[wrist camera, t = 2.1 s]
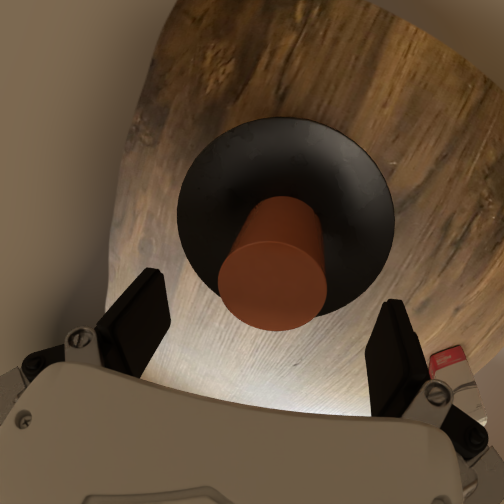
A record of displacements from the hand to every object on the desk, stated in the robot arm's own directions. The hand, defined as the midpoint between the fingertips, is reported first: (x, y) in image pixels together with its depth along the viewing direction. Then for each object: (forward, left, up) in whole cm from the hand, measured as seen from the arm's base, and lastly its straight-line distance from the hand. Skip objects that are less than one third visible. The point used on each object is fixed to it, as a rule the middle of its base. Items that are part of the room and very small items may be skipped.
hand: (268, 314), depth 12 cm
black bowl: (0, 0, -14) cm, 14 cm away
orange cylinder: (0, 0, -7) cm, 7 cm away
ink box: (+20, +24, -14) cm, 34 cm away
